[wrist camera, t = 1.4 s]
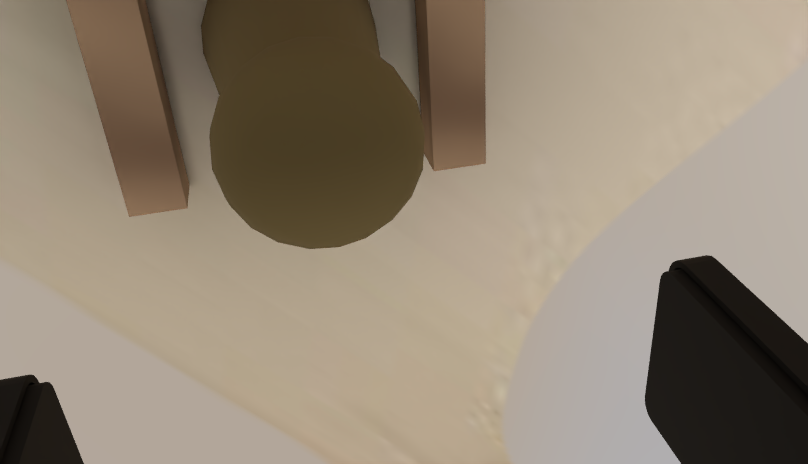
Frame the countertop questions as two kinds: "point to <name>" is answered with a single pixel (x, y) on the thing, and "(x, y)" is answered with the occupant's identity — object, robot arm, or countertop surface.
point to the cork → (309, 120)
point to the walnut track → (152, 116)
